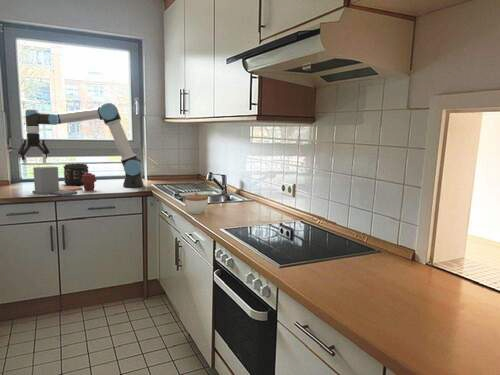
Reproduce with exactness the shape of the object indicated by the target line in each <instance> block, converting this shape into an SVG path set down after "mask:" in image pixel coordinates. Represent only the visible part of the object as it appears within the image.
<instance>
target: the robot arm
mask: <svg viewBox="0 0 500 375" xmlns="http://www.w3.org/2000/svg"><path fill="white" fill-rule="evenodd" d="M24 117H25V128H26V131H25V132H26V139H27V140H26V139H25V140H23V139H22V140H21V145H20V148H19V149H18V151H17V154H18V155H20V157H21V161H22V164H23V166H27V165H28V164H27V163H28V162H27V155H26V154H27V152H28V151H29V150H30V149H31V148H34V147H36V148H38V150H39V151H41V153H42V155H41V156H42V164H45V165H46V164H47V158H48V155H49V154H50V151H49V148H48V147H47V145H46V143H45V142H46V141H45V140H44V139H41V140H40V125H48V126H49V125H52V126H55V125H61V124H67V123H69V124H70V123H77V122H84V121H91V120H92V121H93V120H94V121H95V120H100V121H103V123H104V125H105V126H108V128H109V129H108V130H109V131H110V133H111V136H112V138H113V141H114V143H115V145H116V147H117V149H118V152H119V154H120V156H121V158H120V161H121V164H122V166H123V170H124V173H125V176H124V181H123V183H122V187H123V188H127V189H133V188H134V189H135V188H137V189H138V188H142V187H144V185H145V184H144V182H143V178H142V165H141V164H142V160H141V159H142V158H141V157H140V156H138V155H137V154H136V153H134V152H133V150H132V147H131V144H130V142H129V141H128V137H127V135H126V132H125V130H124V128H123V125H122V124H121V120H122V118H121V115H120V113H119V109H118V108H117V106H116V105H115V104H114V103H112V102H104V103H102V104H101V105H100V106H97V107H96V108H90V109H82V110H81V109H80V110H74V111H67V112H65V111H64V112H59V113H58V112H57V113H53V112H52V113H48V112H47V113H46V112H45V113H44V112H39V111H38V110H37V109H26V110H25V116H24Z"/></svg>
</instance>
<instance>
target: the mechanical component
mask: <svg viewBox="0 0 500 375" xmlns="http://www.w3.org/2000/svg"><path fill="white" fill-rule="evenodd" d="M81 182H84V185H83V190H84V192H94V191H95V183H96V182H97V178H96V174H93V173H92V172H88V173H86V174H84V175H82V179H81Z"/></svg>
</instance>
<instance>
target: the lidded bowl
mask: <svg viewBox="0 0 500 375" xmlns="http://www.w3.org/2000/svg"><path fill="white" fill-rule="evenodd" d="M208 202H209V195H207V194H199V193H198V192H195V193H194V194H188V195H187V194H186V195H185V196H184V204H185V208H186V210H187V211H188V212H189V213H190V214H192V215H201V214H203V213H204V212H205V211H206V209H207V207H208Z"/></svg>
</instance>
